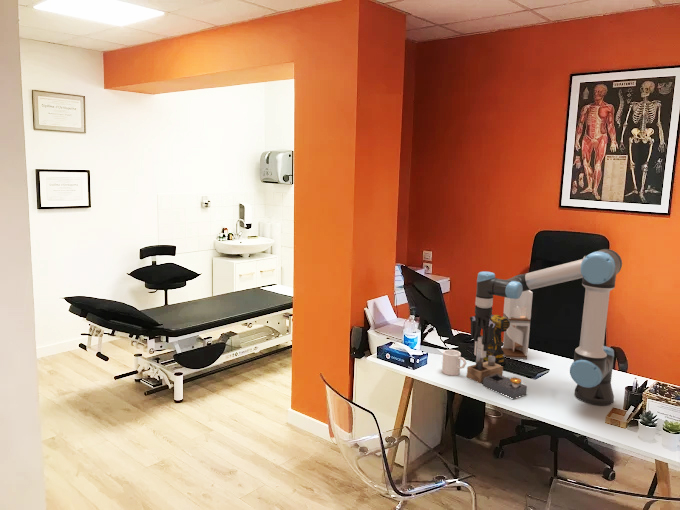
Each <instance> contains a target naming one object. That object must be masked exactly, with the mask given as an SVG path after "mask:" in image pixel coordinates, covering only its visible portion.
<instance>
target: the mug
mask: <svg viewBox="0 0 680 510" xmlns="http://www.w3.org/2000/svg"><path fill="white" fill-rule="evenodd" d="M461 355H462V353H461V352H460V351H459V350H455V349H445V350H443V353H442V366H441V367H442V369H441V370H442V371H441V373H442V374H444V375H447V376H459V375H460V372H461V369H464V368H465V367H466V365H467V362H466V359H465V358H464V357H462V356H461ZM461 361H462V362H463V364H462V366H461Z"/></svg>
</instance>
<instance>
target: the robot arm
mask: <svg viewBox="0 0 680 510" xmlns="http://www.w3.org/2000/svg"><path fill="white" fill-rule="evenodd" d="M622 266H623V261H622V258H621V256H620V254H618V252H616V251H615V250H613V249H609V248H603V249H599V250H596V251H593V252H591V253H589V254H587V255H584V256H583V258H581V259H578V260H577V259H576V260H574V261H570V262H566V263H562V264H558V265H554V266H551V267H546V268H543V269H538V270H534V271H531V272H527V273H522V274H518V275H514V276H512V277H510V278H507V279H502V278H497V277H496V274H495V272H491V271H486V270H485V271H484V270H483V271H479V272H478V273H477V279H476V293H475V302H474V305H475V306H474V314H475V315H474V316H470V317H469V321H470V338H471V339H473V347H474V350H473V351H474V356H476V355H477V341H478V336H481V332H482V336H483V343H482V346H481V358H484V357H486V351H487V350H488V345H492V344H493V334H494V328H495V326H496V323H493V322H492V321H491V315H493V306H494V305H493V304H494V296H498V297H502V298H503V297H504V298H505V297H507V298H510V299H512V298H513V299H518V298H520V296H521V294H522V292H523V291H528V290H530V291H531V290H536V289H539V288H544V287H548V286H553V285H557V284H561V283H566V282H569V281H575V280H579V279H581V285H582V286H583V288H585V292H584V300H583V301H584V303H583V309H582V318H581V320H582V321H581V330H580V336H579V337H580V340H579V346H578V347H576V348H575V350H574V356H573V362H572V363H571V365H570V367H569V375H570V378H571V379H572V380H573V381H574V383H575V384H576V386H575V389H574V394H573V395H574V397H575V398H576V399H578V400H579V401H581V402H583V403H585V404H586V403H587V404H588V405H589V404H590V405H594V406H596V405H597V406H610V405H612V404H613V403H614V399H615V395H614V391H613V387H612V376H613V375H612V374H613V367H614V358H615V350H614V349H613V348H612V347H610V346H606V345H605V337H606V336H605V335H606V329H607V328H606V327H607V319H608V310H609V303H610V292H611V291H613V290H614V289H615V288H616V279H617V275H618V274H619V273H620V272H621V270H622Z"/></svg>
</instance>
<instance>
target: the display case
mask: <svg viewBox="0 0 680 510" xmlns="http://www.w3.org/2000/svg"><path fill="white" fill-rule="evenodd" d="M533 293H534V292H533V291H531V290H528V291H523V292H522V294H521V296H520V298H518V299H513V298H512V299H510V298H507V297H504V302H503V315H502V317H505V318H507V319H508V321H509V322H510V326H509V328H508V329H507V331H504V332H503V343H502V347H501V349H502V350H503V351H504V355H503V356H504V357H506V358H511V359H510V360H520V359H523V360H526V361H527V360H528V353H529V341H530V331H531V329H530V328H531V318H532V305H533V296H534V295H533ZM506 358H505V359H506Z"/></svg>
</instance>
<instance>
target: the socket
mask: <svg viewBox="0 0 680 510" xmlns="http://www.w3.org/2000/svg"><path fill="white" fill-rule="evenodd" d="M510 379H511V378H509V377H506V376H505V375H500V374H494V375H491V376H487V377H484V380H483V382H482V383H483V384H482V387H484V388H486V387H487V389H488V388H490V389H489V390H491V389H492V390H491V391H493V390H494V391H493V392H495V391H497V392H499V393H502V394H504V395H507V396H509V397H511V398H515V399H517V398H516V397H518V398H520V397H519V396H521V397H523V396H522V395H524V396H526V395H527V392H528V391H527V390H528V389H527V388H528V386H527V385H525V384H523V383H522V382H521V383H520V384H519V388H514V387H512V382H511V381H510ZM497 392H496V393H497ZM499 393H498V394H499ZM502 394H501V395H502ZM504 395H503V396H504Z"/></svg>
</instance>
